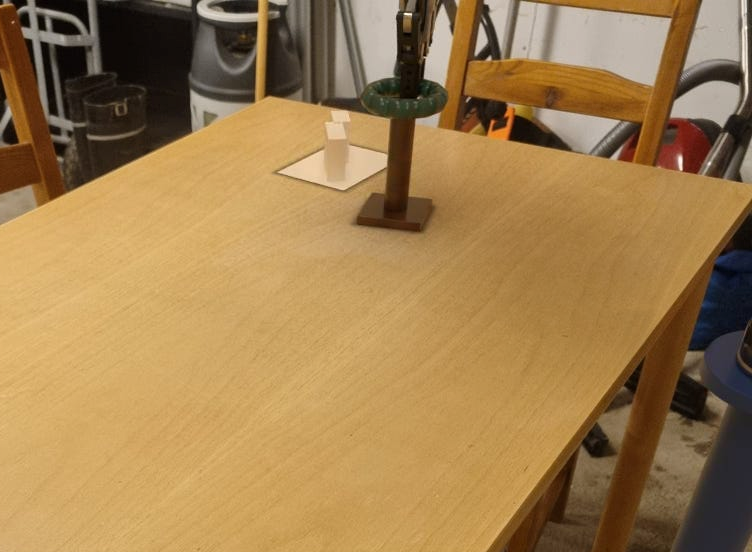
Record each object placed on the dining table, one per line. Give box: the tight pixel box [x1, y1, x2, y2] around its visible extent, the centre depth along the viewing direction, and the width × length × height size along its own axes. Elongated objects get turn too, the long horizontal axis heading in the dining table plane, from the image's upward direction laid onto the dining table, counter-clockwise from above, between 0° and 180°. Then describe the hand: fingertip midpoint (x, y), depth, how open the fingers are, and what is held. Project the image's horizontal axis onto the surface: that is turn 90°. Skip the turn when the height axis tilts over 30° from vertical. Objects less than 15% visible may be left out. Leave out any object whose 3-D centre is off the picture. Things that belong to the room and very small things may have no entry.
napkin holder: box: [277, 110, 388, 192], centre depth 128 cm, size 15×11×6 cm
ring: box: [359, 76, 450, 120], centre depth 108 cm, size 10×10×2 cm
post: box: [356, 97, 433, 232], centre depth 113 cm, size 8×8×13 cm
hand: (410, 95), depth 112 cm, fingers closed on ring, 2 cm apart
